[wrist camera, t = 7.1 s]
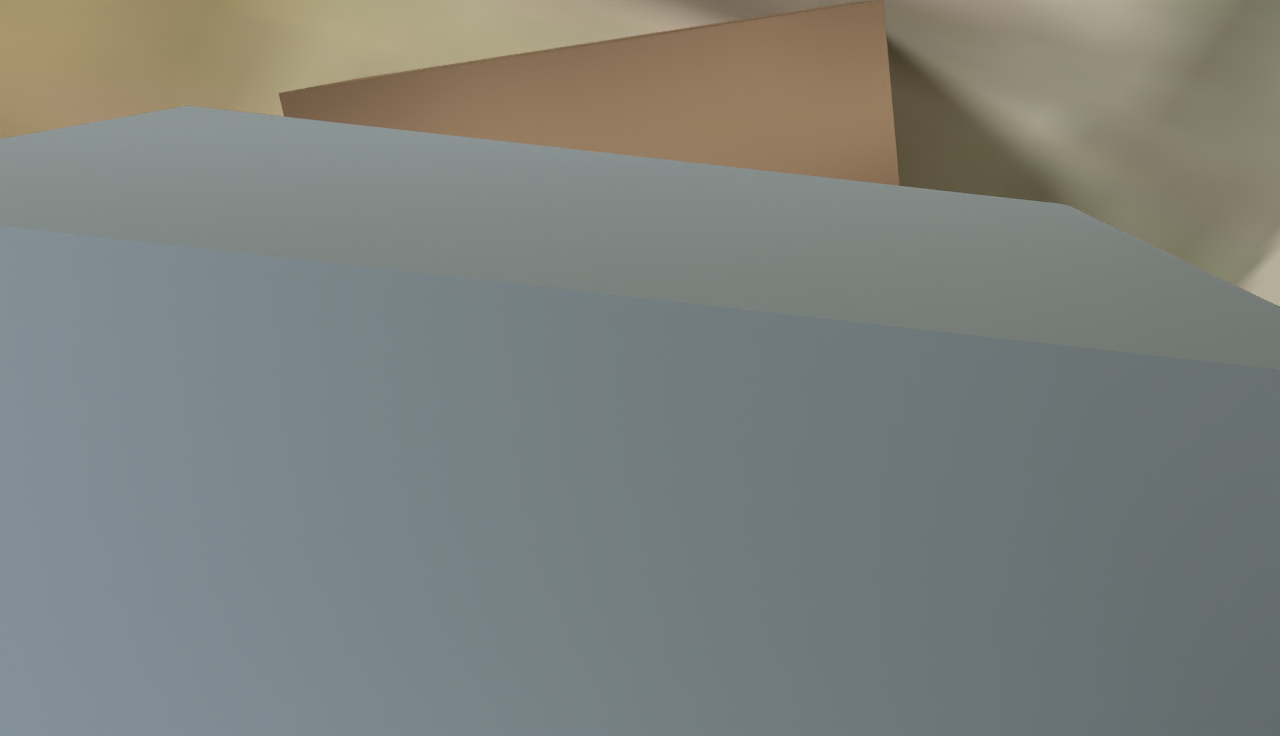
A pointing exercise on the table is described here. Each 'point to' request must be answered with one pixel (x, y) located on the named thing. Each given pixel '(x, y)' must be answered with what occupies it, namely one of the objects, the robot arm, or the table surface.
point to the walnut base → (663, 96)
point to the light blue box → (610, 449)
